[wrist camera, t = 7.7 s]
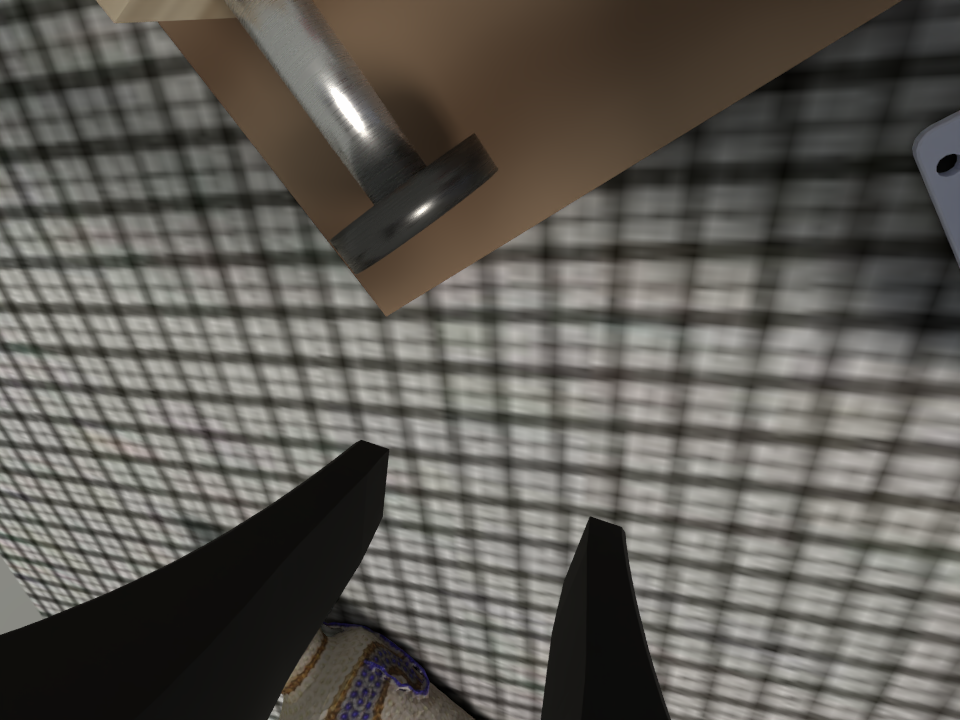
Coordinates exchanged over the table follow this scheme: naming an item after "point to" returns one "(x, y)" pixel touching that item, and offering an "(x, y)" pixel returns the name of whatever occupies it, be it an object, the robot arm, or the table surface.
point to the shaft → (361, 131)
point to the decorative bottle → (362, 681)
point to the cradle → (501, 98)
